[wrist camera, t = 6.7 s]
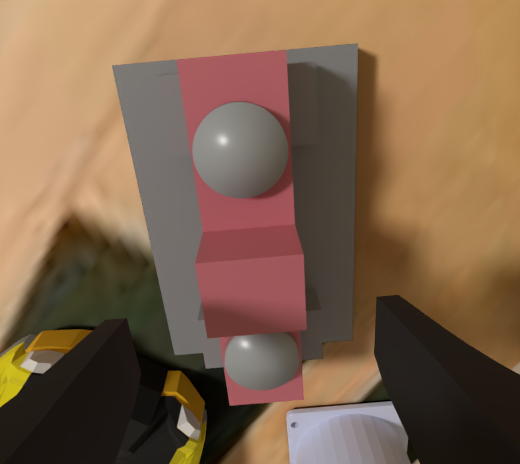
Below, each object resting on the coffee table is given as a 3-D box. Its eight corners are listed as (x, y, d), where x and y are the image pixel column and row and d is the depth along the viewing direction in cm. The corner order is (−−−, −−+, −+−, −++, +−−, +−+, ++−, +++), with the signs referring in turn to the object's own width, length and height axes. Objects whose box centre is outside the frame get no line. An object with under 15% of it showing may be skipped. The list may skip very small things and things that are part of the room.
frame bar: (298, 368, 20) (311, 447, 16) (231, 374, 20) (227, 454, 16) (281, 51, 14) (295, 47, 10) (185, 59, 14) (160, 59, 10)
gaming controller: (172, 481, 28) (247, 393, 25) (156, 573, 23) (246, 477, 20) (-39, 401, 25) (16, 286, 21) (-113, 489, 20) (-55, 356, 16)
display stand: (347, 326, 23) (361, 362, 20) (178, 341, 23) (169, 379, 20) (350, 44, 17) (370, 41, 14) (120, 65, 17) (96, 66, 14)
